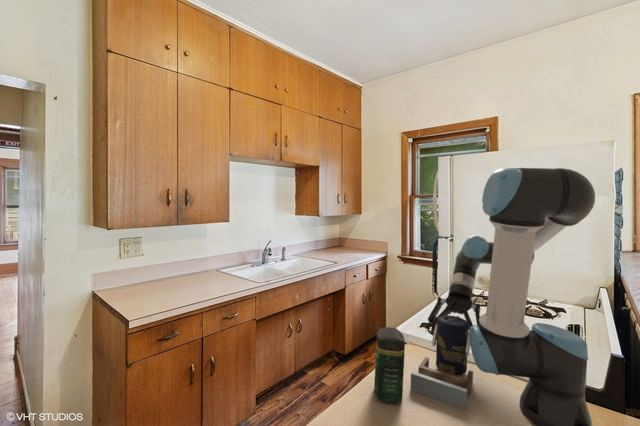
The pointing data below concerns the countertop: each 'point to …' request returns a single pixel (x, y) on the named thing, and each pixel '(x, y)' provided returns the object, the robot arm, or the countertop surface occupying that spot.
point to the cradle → (446, 376)
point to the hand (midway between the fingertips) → (449, 348)
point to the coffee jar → (389, 365)
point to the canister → (452, 345)
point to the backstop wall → (439, 390)
